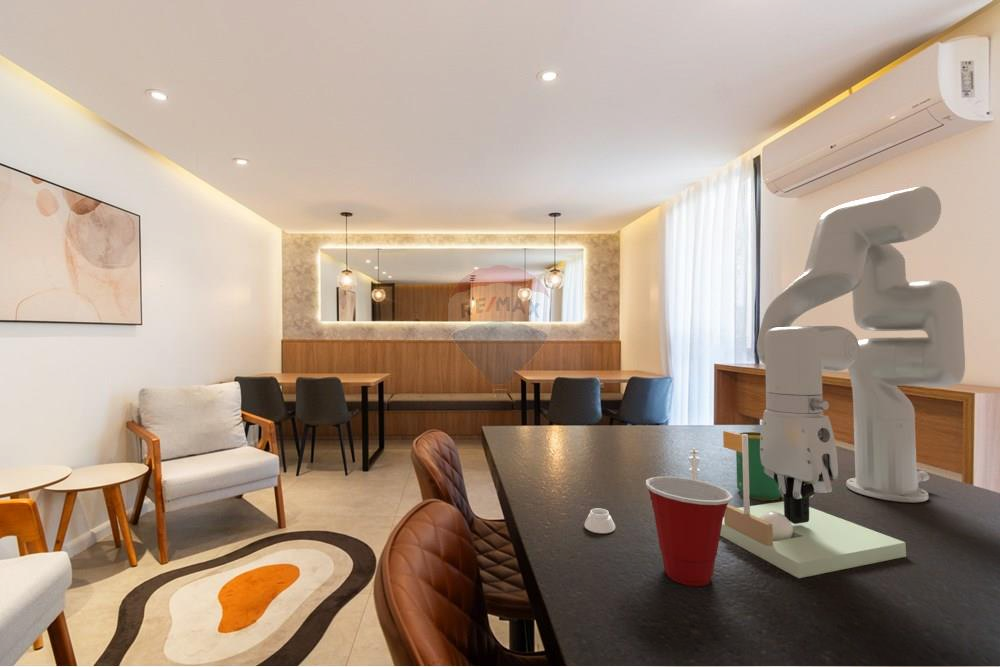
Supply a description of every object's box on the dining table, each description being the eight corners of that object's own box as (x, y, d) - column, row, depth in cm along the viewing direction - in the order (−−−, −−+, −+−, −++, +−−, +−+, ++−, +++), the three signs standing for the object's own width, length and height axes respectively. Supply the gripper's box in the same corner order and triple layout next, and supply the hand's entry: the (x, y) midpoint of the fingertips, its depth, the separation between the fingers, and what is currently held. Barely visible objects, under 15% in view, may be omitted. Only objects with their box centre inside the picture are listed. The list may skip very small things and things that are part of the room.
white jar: (587, 521, 78) (582, 533, 73) (587, 504, 78) (581, 515, 73) (616, 525, 76) (613, 537, 71) (616, 508, 76) (612, 519, 71)
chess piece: (711, 503, 85) (710, 451, 85) (684, 502, 86) (683, 450, 86) (705, 495, 90) (704, 445, 90) (679, 493, 91) (678, 445, 91)
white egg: (750, 538, 69) (774, 535, 71) (776, 550, 65) (800, 547, 66) (750, 508, 70) (773, 506, 71) (775, 518, 65) (799, 516, 67)
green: (791, 511, 81) (789, 418, 81) (906, 556, 63) (902, 437, 64) (700, 524, 75) (698, 424, 76) (798, 578, 58) (795, 448, 58)
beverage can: (787, 503, 85) (786, 440, 85) (741, 498, 87) (739, 438, 88) (776, 490, 92) (775, 432, 93) (734, 486, 95) (732, 430, 95)
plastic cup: (755, 589, 56) (752, 493, 56) (683, 604, 52) (681, 503, 53) (694, 550, 66) (692, 470, 66) (631, 561, 63) (629, 477, 63)
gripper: (861, 409, 64) (864, 537, 63) (771, 398, 78) (774, 502, 78) (821, 412, 62) (825, 544, 61) (737, 399, 76) (739, 507, 76)
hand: (796, 520), depth 70 cm, fingers closed
